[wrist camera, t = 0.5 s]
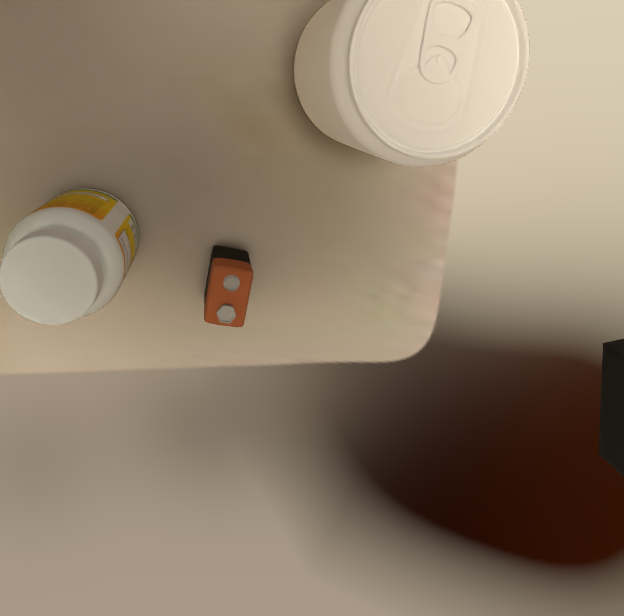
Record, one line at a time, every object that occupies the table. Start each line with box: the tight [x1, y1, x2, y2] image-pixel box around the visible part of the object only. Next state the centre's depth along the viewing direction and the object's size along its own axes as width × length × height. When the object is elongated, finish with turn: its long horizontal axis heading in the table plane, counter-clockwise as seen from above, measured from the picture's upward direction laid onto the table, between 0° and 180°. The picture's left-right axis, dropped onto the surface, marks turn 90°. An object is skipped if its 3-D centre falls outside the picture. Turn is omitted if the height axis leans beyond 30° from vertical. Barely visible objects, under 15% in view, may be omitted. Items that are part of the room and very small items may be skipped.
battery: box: [204, 246, 253, 327], centre depth 34 cm, size 2×3×5 cm, turn 167°
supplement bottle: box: [0, 188, 139, 325], centre depth 29 cm, size 5×5×10 cm
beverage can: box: [294, 0, 530, 167], centre depth 28 cm, size 8×8×12 cm
